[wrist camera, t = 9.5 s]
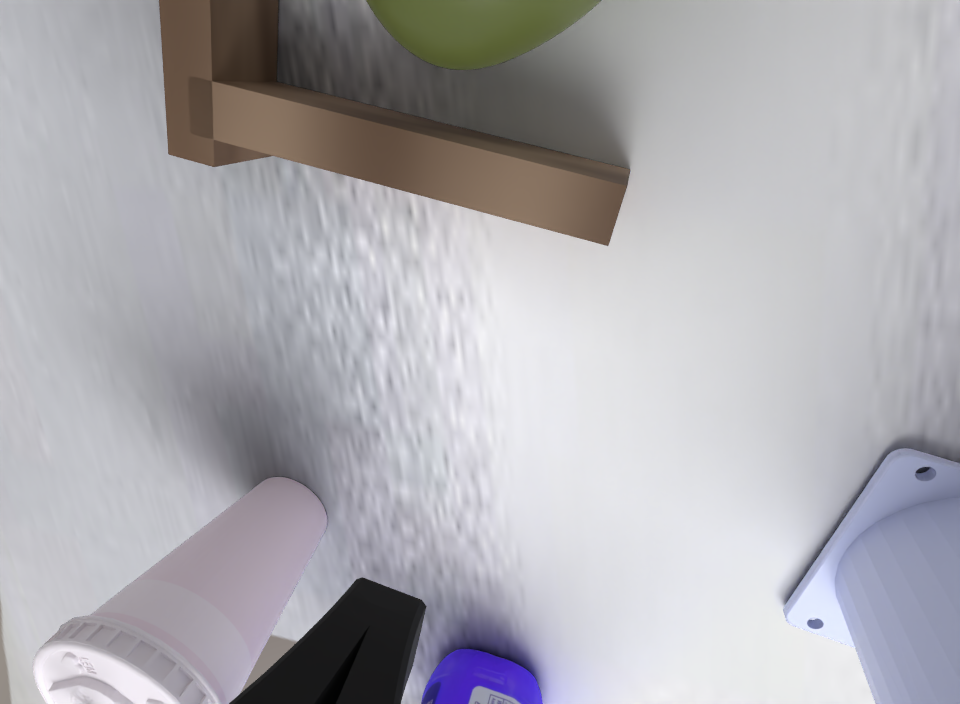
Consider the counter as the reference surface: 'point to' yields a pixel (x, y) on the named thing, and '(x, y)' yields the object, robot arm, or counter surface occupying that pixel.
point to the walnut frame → (358, 129)
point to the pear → (476, 27)
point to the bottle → (480, 681)
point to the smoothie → (191, 610)
